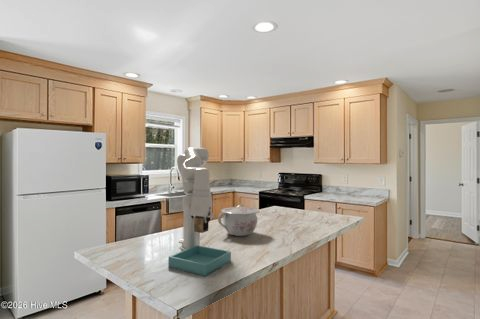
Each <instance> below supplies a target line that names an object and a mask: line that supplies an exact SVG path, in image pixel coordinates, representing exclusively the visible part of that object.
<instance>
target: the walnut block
mask: <svg viewBox="0 0 480 319" xmlns="http://www.w3.org/2000/svg"><path fill="white" fill-rule="evenodd" d="M206 219H207V218H206ZM204 223H205V222H204V217H199V216H198V217H194V232H199V233H200V234H203V233H206V232H209V229H208V230H206V231H204Z"/></svg>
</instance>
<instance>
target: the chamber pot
mask: <svg viewBox="0 0 480 319" xmlns="http://www.w3.org/2000/svg"><path fill="white" fill-rule="evenodd" d="M220 211H221V212H220V213H219V214H218V217H217V222H218V224H219V225H220V227H222V228H224V230H225V231H226V232H227V233H228V234H229V235H231V236H233V235H235V236H234V237H247V236H249V235H252V234H253V233H254V231H255V230H256V228H257V226H258V222H259V221H258V219H259V218H258V216H257V214H258V213H260V210H259V209H257V208H255V207H250V206H244V205H243V204H238V205H237V206H231V207H226V208H222V209H220ZM246 235H247V236H246Z"/></svg>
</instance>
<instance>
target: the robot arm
mask: <svg viewBox="0 0 480 319" xmlns="http://www.w3.org/2000/svg"><path fill="white" fill-rule="evenodd" d="M209 157H210V154H209V150H208V148H205V147H188V148H186V149H185V150H184V153H182V154H179V155H178V156H177V159H176V166H177V168H178V169H177V170H178V171H179V173H180V176H181V181H182V190H183V193H184V194H185V195H184V196H183V197H182V200H181V202H182V210H183V234H182V235H183V237H182V238H183V239H182V238H180V239H179V241H178V243H179V244H181V245H180V250H181V251H184V250H186V249H189V248H191V247H193V246H196V245H198V246H203V245H202V244H201V243H200V242H201V241H200V240H201V233H199V232H194V217H198V216H199V217H204V222H205V223H204V231H206V230H208V231H209V223H210V222H211V220H212V219H213V218H215V215H214V213H213V211H212V207H213V196H212V192H211V187H210V177H211V176H210V174H211V173H210V169H208V168H206V167H204V166H205V165H206V164H207V162H208V161H209ZM206 218H207V219H206ZM206 232H207V231H206Z"/></svg>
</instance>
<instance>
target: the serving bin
mask: <svg viewBox="0 0 480 319" xmlns="http://www.w3.org/2000/svg"><path fill="white" fill-rule="evenodd" d="M167 262H168V265H167V266H168V268H171V269H175V270H179V271H183V272H186V273H190V274H195V275H199V276H202V277H207V276H209V275H210V274H212V273H214V272H216V271H217V270H220V269H221V268H222V267H224V266H226V265H228V264H229V263H231V262H232V251H229V250H224V249H218V248H213V247H208V246H203V245H202V246H198V245H196V246H193V247H191V248H189V249H186V250H184V251H183V250H181V251H179V252H176V253H175V254H172V255H169V256H168V261H167Z"/></svg>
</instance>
